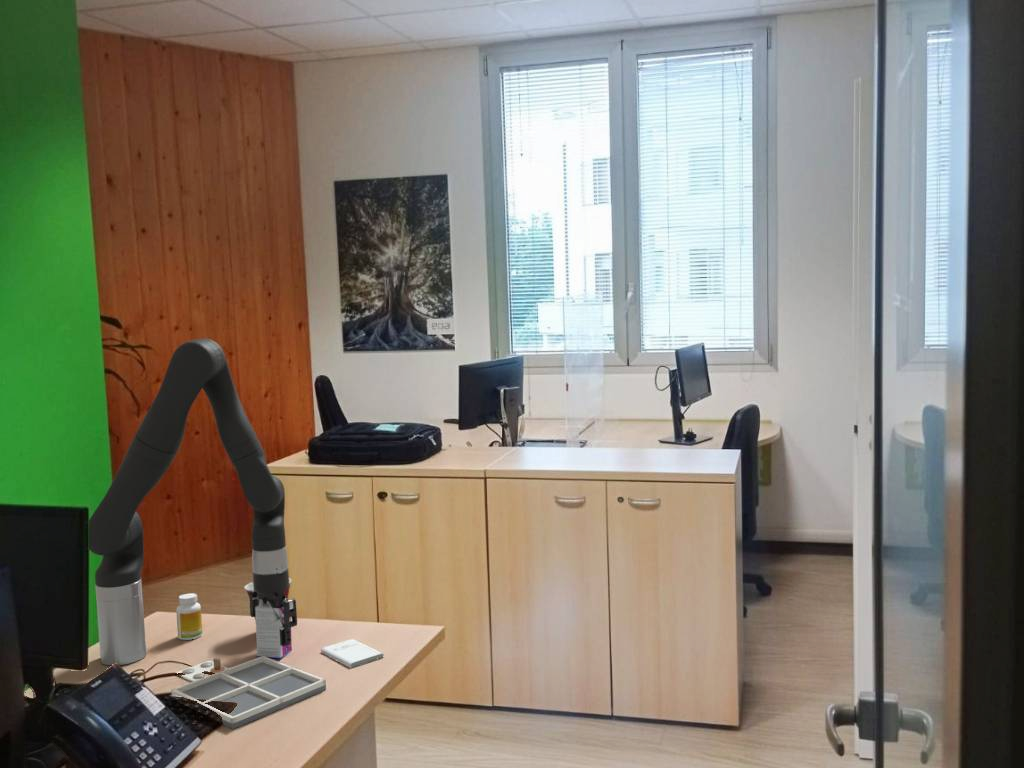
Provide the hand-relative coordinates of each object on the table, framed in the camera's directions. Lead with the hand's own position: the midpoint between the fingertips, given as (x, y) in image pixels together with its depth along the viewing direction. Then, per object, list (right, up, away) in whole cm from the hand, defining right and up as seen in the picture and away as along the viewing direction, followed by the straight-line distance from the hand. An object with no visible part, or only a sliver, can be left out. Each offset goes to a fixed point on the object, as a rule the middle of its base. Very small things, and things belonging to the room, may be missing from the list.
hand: (274, 641), depth 198 cm
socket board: (0, -5, -20) cm, 21 cm away
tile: (-13, -4, -9) cm, 16 cm away
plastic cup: (-5, -2, +15) cm, 16 cm away
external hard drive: (+17, -3, -1) cm, 17 cm away
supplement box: (0, -3, 0) cm, 3 cm away
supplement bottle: (-23, -3, +13) cm, 27 cm away
